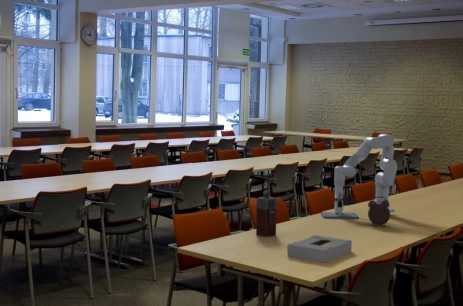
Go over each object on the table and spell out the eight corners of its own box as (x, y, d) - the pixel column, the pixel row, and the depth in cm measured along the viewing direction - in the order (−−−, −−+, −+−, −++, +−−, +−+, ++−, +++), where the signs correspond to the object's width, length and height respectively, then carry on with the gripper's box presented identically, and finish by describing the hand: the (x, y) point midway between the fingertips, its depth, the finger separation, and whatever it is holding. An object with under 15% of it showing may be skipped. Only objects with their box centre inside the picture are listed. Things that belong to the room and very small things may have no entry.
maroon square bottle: (269, 237, 377) (269, 192, 375) (255, 234, 385) (256, 190, 383) (278, 235, 383) (279, 190, 381) (265, 232, 391) (266, 188, 389)
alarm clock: (388, 225, 419) (389, 196, 418) (390, 227, 412) (391, 197, 410) (366, 224, 421) (367, 195, 419) (368, 226, 413) (368, 197, 412)
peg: (334, 212, 457) (334, 200, 456) (342, 212, 457) (342, 200, 456) (336, 215, 444) (336, 203, 444) (344, 215, 444) (344, 203, 443)
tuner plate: (354, 214, 457) (355, 211, 457) (358, 218, 441) (358, 215, 441) (321, 214, 458) (321, 210, 458) (323, 218, 442) (323, 214, 442)
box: (314, 246, 357) (286, 257, 331) (314, 233, 356) (287, 242, 330) (351, 253, 343) (325, 264, 317) (352, 239, 343) (326, 249, 317)
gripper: (332, 181, 461) (332, 204, 463) (335, 184, 444) (335, 208, 446) (342, 181, 461) (342, 204, 463) (346, 184, 444) (345, 208, 445)
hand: (338, 206), depth 454 cm, fingers open, 9 cm apart
